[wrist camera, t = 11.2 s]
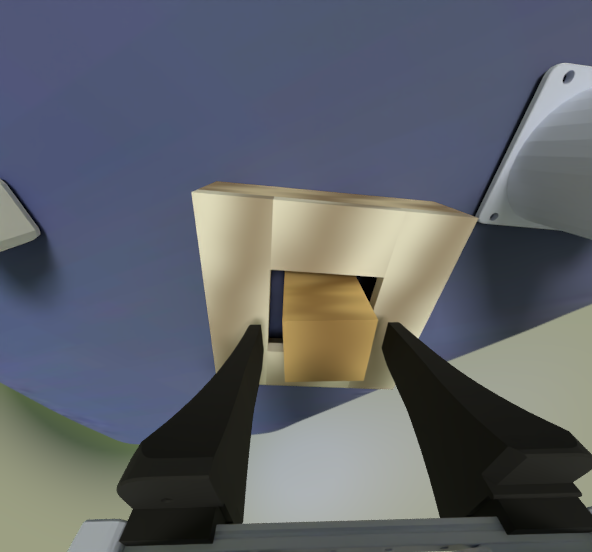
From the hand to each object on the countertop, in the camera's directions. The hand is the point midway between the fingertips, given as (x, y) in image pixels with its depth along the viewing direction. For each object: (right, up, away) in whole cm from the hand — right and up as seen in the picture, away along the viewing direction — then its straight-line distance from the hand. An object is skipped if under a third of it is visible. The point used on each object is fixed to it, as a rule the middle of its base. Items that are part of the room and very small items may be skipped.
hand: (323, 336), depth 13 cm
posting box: (0, +3, +5) cm, 6 cm away
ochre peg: (0, +3, +5) cm, 6 cm away
